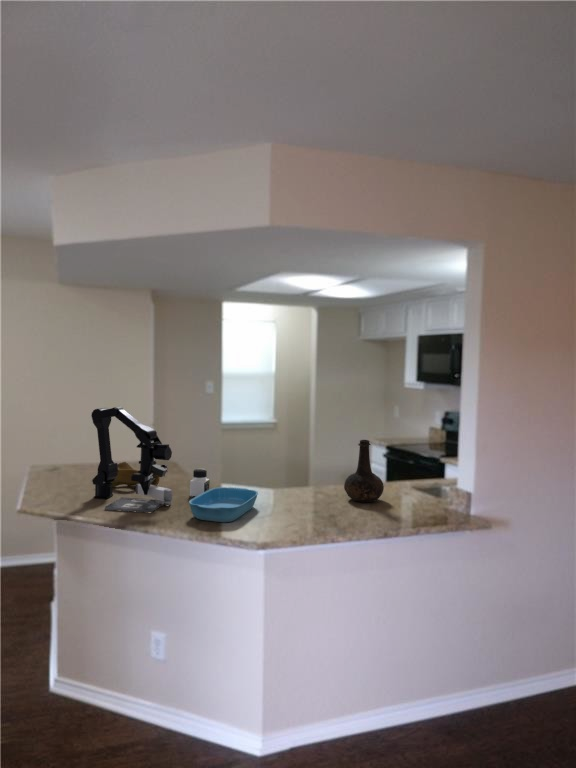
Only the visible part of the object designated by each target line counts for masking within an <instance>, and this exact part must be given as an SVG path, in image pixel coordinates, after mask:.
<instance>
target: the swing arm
mask: <svg viewBox="0 0 576 768" xmlns="http://www.w3.org/2000/svg"><path fill="white" fill-rule="evenodd" d="M135 495H141V496H145V497H148V498H151V499H155V500H165V501H169V500H171V501H172V500H173V489H170V488H167V487H163V486H158V485H157V486H154V485H150V487H149V490H148V494H147V495H144V492H143V490H142V487H141V485H140V483H139V484H136V486H135Z"/></svg>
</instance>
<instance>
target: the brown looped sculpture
mask: <svg viewBox="0 0 576 768" xmlns="http://www.w3.org/2000/svg"><path fill="white" fill-rule="evenodd" d="M117 464H118V466H117V468H118V472H117V476H116V477H115V479H114V482H110V483H112V486H113V488H116V487H118V486H121V485H125V486H128V487H133V486H134V487H136V484H139V481H131V476H132V475H133V474H135V473H138V471H139V470H140V469H139V470H138V469H134V468H133V467H132V466H131V465H130V464H129V463H128V462H126V461H122V462H119V463H117ZM152 476H153V478H156V479H154V480H153V481H152V482H151V484H150V485H154V486H158V484H159V482H160V477H158V476H157V475H152Z"/></svg>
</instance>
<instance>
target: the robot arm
mask: <svg viewBox="0 0 576 768" xmlns="http://www.w3.org/2000/svg"><path fill="white" fill-rule="evenodd" d="M113 417H115V418H116V419H117V420H118V421H120V422H121V424H123V425H125V427H127V428H128V429H130V430H131V431H132V432H133V433H134V435H135V438H136V439H137V440H138V441H139V443H138V444H137V445H136V448H139V449H140V460H139V461H138V464H139V466H140V467H139V471H138V473H135V474H133V475H132V476H131V481H139V483H140V485H141V487H142V490H143V492H144V495H147V494H148V490H149V487H150V484H151V482H152V481H153V480H154V479H156V478H153V476H152V475H157V476H158V477H159V478H163V477H165V476H166V474H167V473H168V465H167V464H165V463H163V464H162V465H160V464H157V461H156V460H161V461H170V460H171V458H172V453H173V451H172V449H171V447H170V444H169V443H166V444H163V443H162V441H161V440H160V438H159V437H158V434H157V433H158V432H157V431H156V430H155V429H154V428H151V427H150V426H148V425H145V424H143V423H141V422H140V421H139V420H137V419H136V418H135V417H133V416H132V415H131V414H130V413H128V412H127V411H126V410H125V409H124V408H123V406H115V407H112V408H108V407H101V408H96V409H95V408H94V409H93V410H92V412H91V419H92V424H93V425H94V426H95V429H97V441H98V451H99V463H98V466H97V474H96V475H95V476H94V477H93V479H92V480H91V482H92V485H94V487H95V490H94V496H93V497H92V498H94V499H103V500H104V499H106V500H107V499H109V498H111V497H112V496H114V494H113V490H114V487H113V486H112V483H110V482H114V479H115V477H116V476H117V472H118V468H117V466H118V464H119V463H117V462H114V460H113V457H112V449H111V438H110V437H111V435H110V425H111V423H112V418H113ZM144 495H143V496H144Z"/></svg>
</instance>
